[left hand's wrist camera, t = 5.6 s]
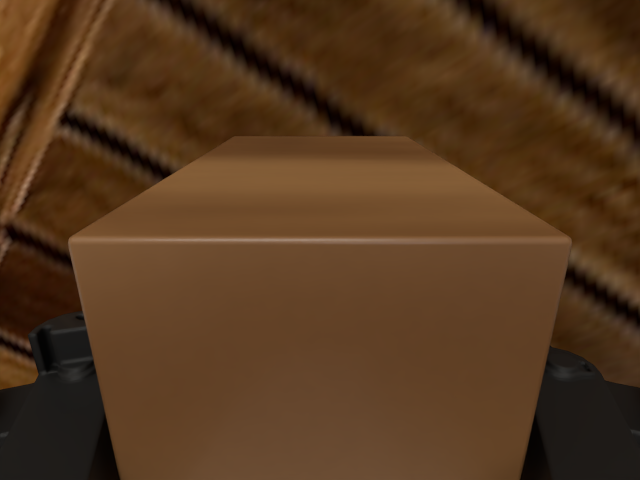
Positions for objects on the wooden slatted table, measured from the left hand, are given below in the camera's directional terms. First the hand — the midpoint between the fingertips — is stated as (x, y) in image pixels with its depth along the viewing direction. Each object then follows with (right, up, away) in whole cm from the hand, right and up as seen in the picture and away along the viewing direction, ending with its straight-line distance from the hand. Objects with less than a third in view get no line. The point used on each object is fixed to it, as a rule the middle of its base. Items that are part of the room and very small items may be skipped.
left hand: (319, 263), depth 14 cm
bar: (0, -7, +3) cm, 8 cm away
